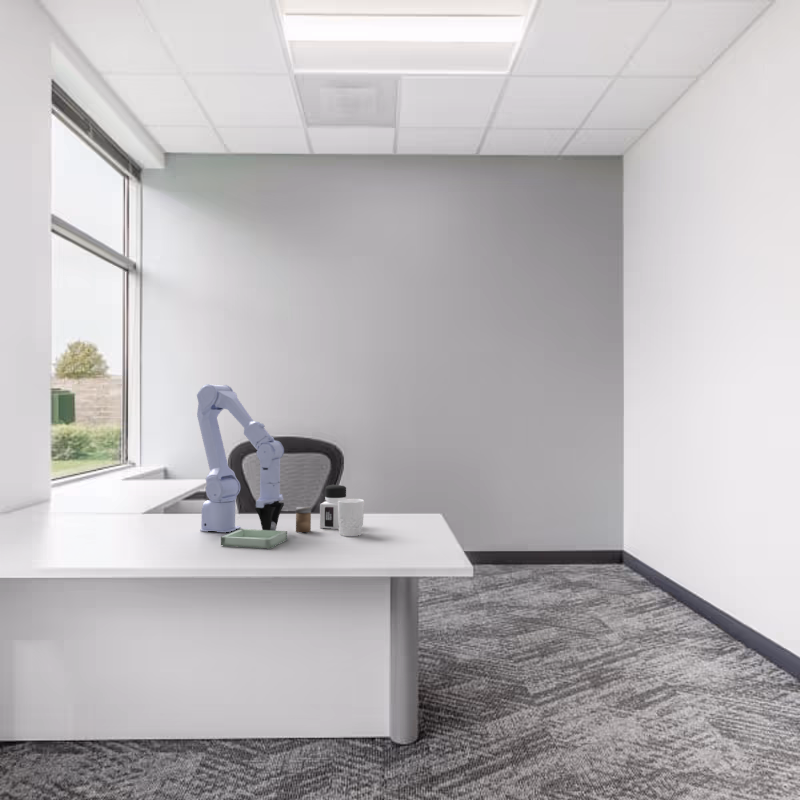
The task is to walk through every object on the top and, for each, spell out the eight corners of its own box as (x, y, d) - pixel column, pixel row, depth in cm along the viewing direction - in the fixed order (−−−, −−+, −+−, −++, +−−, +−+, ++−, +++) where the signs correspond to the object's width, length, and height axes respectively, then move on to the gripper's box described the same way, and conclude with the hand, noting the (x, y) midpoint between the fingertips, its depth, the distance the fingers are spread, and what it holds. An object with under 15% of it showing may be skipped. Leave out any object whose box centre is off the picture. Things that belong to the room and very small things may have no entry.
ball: (260, 534, 186) (260, 521, 186) (265, 532, 189) (266, 518, 189) (273, 535, 185) (273, 521, 185) (278, 533, 189) (278, 519, 189)
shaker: (293, 532, 190) (293, 508, 190) (298, 529, 194) (299, 506, 194) (307, 533, 189) (308, 509, 189) (313, 530, 193) (313, 507, 193)
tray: (220, 546, 171) (220, 537, 171) (241, 537, 182) (241, 528, 182) (269, 548, 168) (269, 539, 168) (287, 539, 179) (287, 531, 179)
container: (343, 529, 195) (344, 487, 195) (319, 528, 196) (320, 486, 197) (350, 525, 202) (351, 484, 203) (327, 524, 204) (327, 483, 204)
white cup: (331, 534, 188) (332, 500, 188) (351, 530, 194) (351, 497, 194) (349, 538, 182) (350, 503, 182) (369, 534, 188) (369, 500, 188)
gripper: (272, 485, 179) (272, 534, 179) (292, 480, 193) (291, 524, 193) (249, 484, 181) (248, 532, 181) (270, 479, 195) (270, 523, 195)
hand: (269, 528), depth 187 cm, fingers closed on ball, 4 cm apart
